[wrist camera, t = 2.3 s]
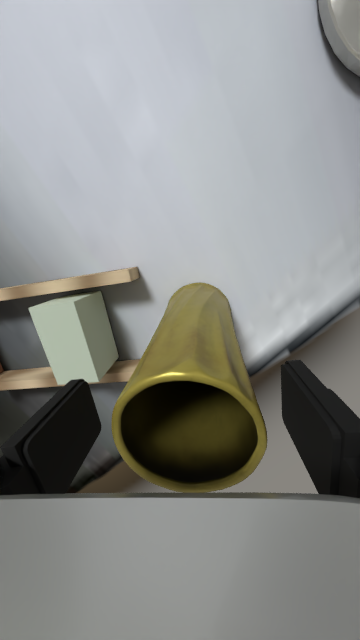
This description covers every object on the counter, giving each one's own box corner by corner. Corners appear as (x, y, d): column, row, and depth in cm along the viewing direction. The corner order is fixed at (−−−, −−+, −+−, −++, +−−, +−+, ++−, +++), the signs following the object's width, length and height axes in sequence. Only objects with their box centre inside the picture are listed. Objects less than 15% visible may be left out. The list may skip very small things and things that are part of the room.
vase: (243, 318, 20) (322, 460, 7) (194, 353, 22) (177, 523, 8) (202, 268, 19) (197, 317, 6) (154, 310, 21) (62, 422, 7)
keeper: (100, 290, 20) (73, 301, 16) (118, 356, 23) (98, 381, 18) (63, 295, 21) (28, 308, 17) (84, 359, 23) (57, 384, 19)
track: (137, 266, 20) (125, 270, 17) (158, 365, 23) (151, 383, 20) (-42, 295, 23) (-79, 302, 20) (-1, 378, 26) (-28, 396, 23)
